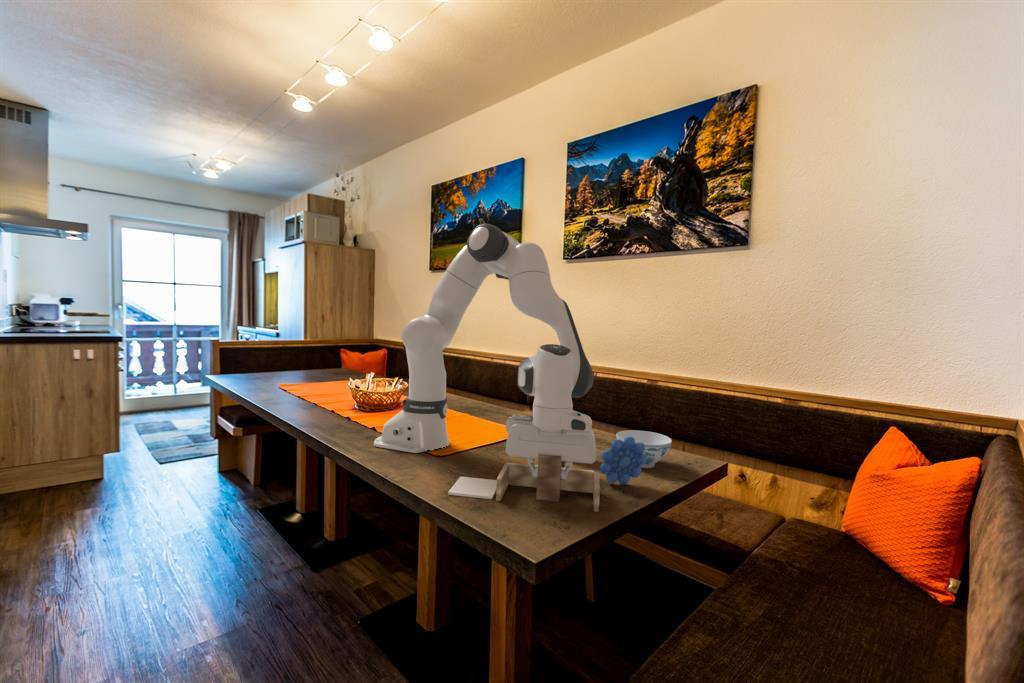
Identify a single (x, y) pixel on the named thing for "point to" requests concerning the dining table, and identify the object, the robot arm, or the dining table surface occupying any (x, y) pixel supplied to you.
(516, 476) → the u-shaped barrier
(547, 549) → the dining table surface
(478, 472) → the dining table surface
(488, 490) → the coaster
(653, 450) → the chinaware
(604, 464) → the grapes
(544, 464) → the walnut block
